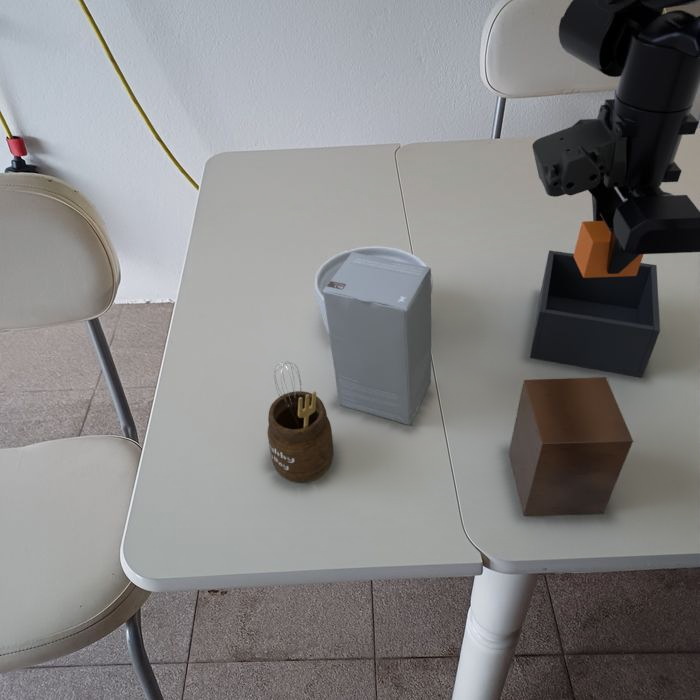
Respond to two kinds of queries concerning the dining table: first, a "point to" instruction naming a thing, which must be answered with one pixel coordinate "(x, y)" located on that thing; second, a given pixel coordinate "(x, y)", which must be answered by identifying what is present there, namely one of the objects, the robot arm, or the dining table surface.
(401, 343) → the cosmetic box
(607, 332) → the open box
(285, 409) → the utensil holder
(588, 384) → the stand
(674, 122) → the robot arm
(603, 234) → the orange block
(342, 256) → the ramekin
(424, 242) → the dining table surface
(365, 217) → the dining table surface
